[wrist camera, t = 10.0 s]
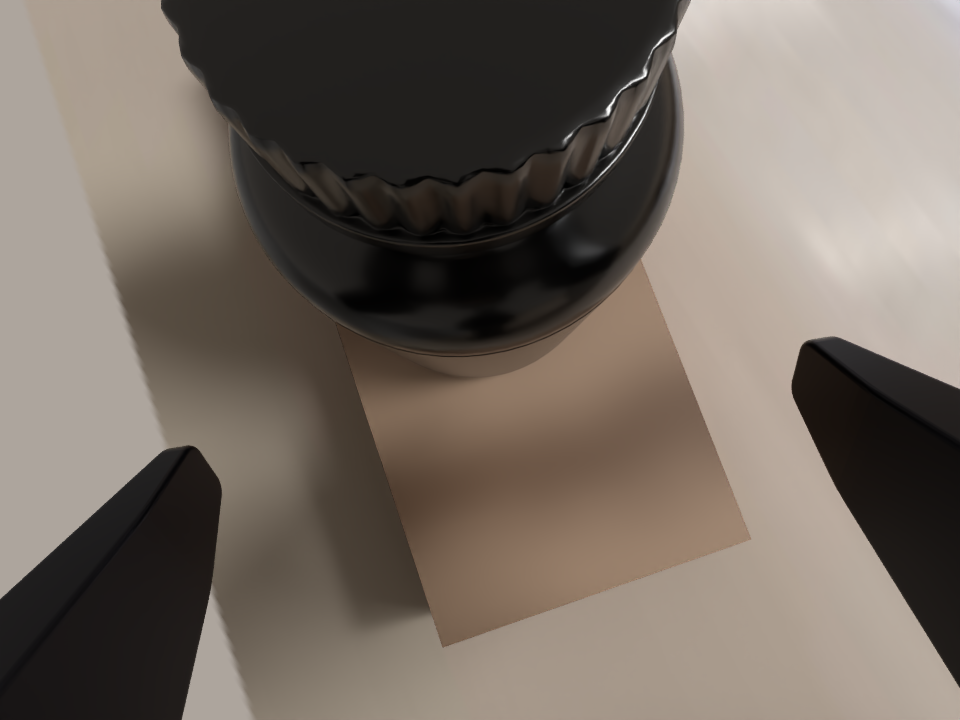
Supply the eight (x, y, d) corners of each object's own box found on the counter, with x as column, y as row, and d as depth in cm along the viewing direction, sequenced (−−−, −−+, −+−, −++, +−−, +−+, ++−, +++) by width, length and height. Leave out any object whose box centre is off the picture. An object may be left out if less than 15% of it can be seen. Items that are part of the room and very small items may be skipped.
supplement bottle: (329, 340, 17) (-108, 162, 5) (403, 126, 17) (179, -523, 5) (554, 414, 16) (697, 418, 4) (624, 191, 17) (926, -358, 5)
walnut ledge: (712, 519, 19) (751, 539, 16) (452, 610, 19) (442, 647, 16) (505, -14, 21) (504, -86, 18) (272, 71, 21) (233, 14, 18)
